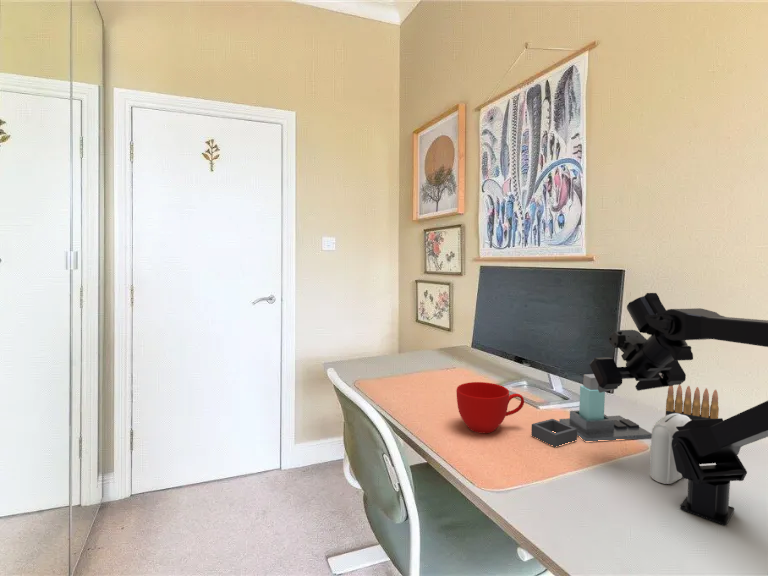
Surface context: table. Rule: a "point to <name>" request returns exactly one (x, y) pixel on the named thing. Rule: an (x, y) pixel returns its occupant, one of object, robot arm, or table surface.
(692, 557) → the table surface
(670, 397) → the ammunition clip
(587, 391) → the aqua plug
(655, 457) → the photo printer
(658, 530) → the table surface
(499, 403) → the ceramic cup
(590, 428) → the switch
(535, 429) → the box
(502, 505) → the table surface
